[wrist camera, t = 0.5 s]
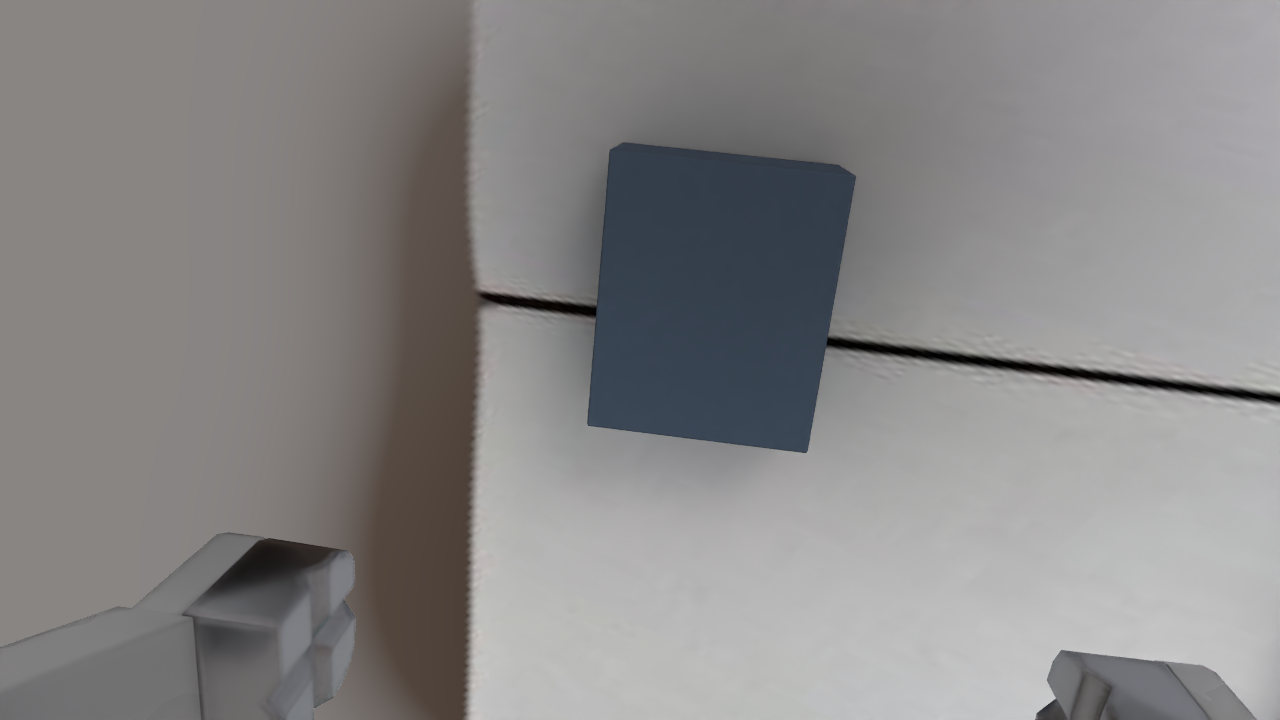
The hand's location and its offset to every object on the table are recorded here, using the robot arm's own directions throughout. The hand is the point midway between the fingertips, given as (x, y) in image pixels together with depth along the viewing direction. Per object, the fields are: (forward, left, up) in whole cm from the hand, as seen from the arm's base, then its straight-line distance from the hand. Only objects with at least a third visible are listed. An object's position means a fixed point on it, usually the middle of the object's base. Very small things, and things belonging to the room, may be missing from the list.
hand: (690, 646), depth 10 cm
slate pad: (0, 0, -17) cm, 17 cm away
